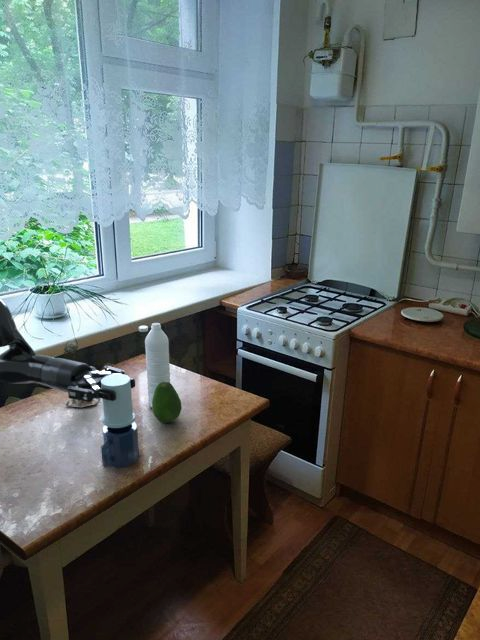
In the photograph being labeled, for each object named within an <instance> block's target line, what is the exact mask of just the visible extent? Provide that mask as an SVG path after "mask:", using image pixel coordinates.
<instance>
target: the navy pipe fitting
mask: <svg viewBox="0 0 480 640" xmlns="http://www.w3.org/2000/svg"><path fill="white" fill-rule="evenodd" d="M101 431H102V442H103V444H102V445H101V446H100V451H101V462H102V467H103V468H105V469H106V468H109V467H112V468H126V467H130V466H132V465H134V464H135V463H136V462H137V461H138V460H139V458H140V448H139V433H138V425H137V423H136V422H135V421H134V422H133V423H132V424H130V425H128V426H126V427H122V428H110V427H107V426H105V425H104V424H103V426H102V428H101Z"/></svg>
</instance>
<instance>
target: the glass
mask: <svg viewBox="0 0 480 640" xmlns="http://www.w3.org/2000/svg"><path fill="white" fill-rule="evenodd" d="M130 378H131V376H129V375H128V374H125V375H124V374H119V373H118V374H112V375H108V376H105V377H104V378H102V379H101V388H104V389H108V390H113V391H115V392H116V400H114V401H111V400H106V399H102V408H103V415H102V417H101V421H102V422H101V423H102V424H103V426H104V425H105V426H107V427H110V428H122V427H126V426H128V425H130V424H132V423H133V422H135V420H136V414H135V412H134V410H133V399H132V388H131V383H130ZM101 388H100V389H101Z"/></svg>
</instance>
